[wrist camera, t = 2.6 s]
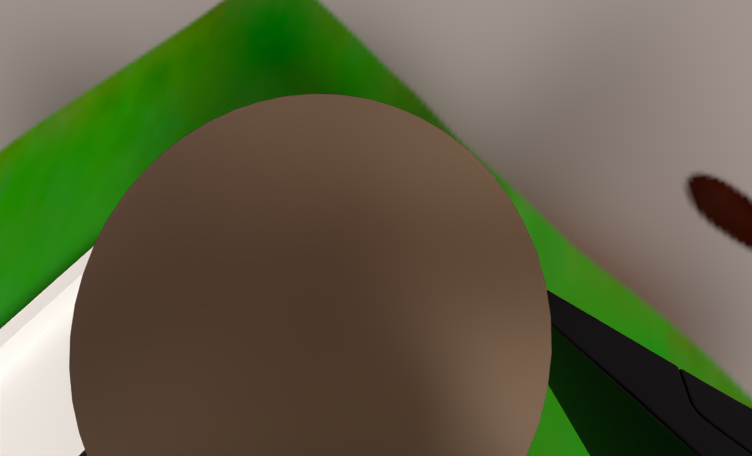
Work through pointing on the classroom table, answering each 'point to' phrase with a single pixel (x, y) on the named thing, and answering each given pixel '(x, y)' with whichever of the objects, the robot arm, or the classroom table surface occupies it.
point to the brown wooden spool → (312, 295)
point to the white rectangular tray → (40, 373)
